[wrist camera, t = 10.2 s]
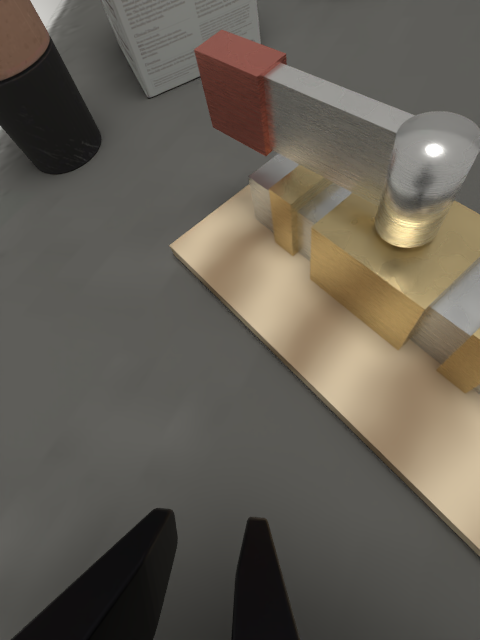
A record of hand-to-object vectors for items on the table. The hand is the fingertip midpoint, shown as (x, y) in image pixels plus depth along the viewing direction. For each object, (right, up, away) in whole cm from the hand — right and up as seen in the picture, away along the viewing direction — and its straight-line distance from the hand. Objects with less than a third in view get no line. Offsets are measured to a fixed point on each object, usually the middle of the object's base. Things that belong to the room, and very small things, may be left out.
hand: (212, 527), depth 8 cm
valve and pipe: (+10, +7, +15) cm, 19 cm away
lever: (+5, +13, +12) cm, 18 cm away
